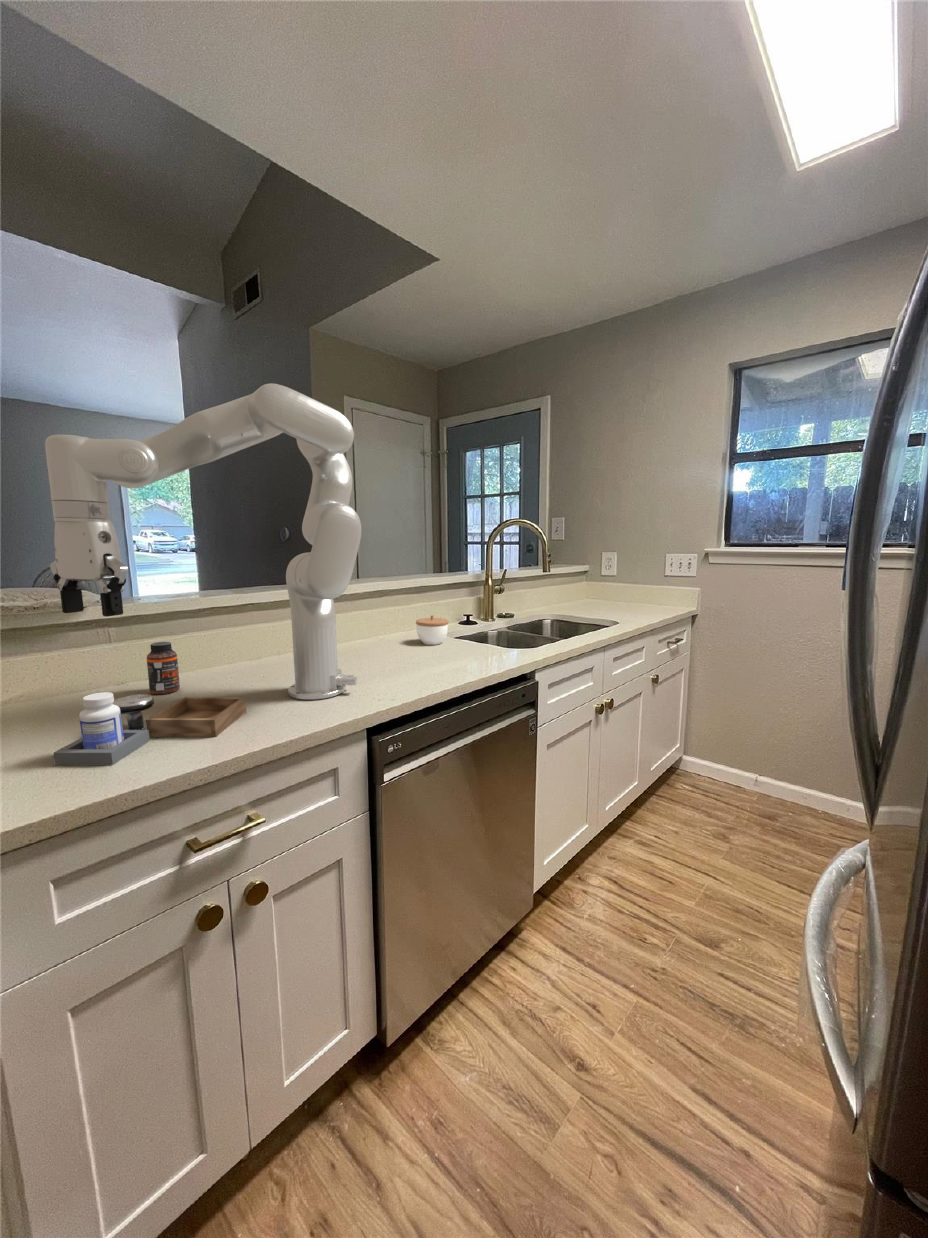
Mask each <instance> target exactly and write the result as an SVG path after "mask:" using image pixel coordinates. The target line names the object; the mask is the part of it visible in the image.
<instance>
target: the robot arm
mask: <svg viewBox="0 0 928 1238" xmlns="http://www.w3.org/2000/svg"><path fill="white" fill-rule="evenodd" d="M281 434H286V435H288V436H290V437H293V438H295V439H296V444H297V447H298V449H299V451H300V453H301V454H302V456H303V457H304V458H305V459H306V461H307V463H309V466H310V470H311V472H312V482H311V487H310V491H309V492H310V493H309V497H308V501H307V505H306V509H305V513H304V516H303V521H302V524H301V531H302V532H301V533H302V536H303V538H304V539H305V540H306V542H308V544H310V545H311V546H312V547H311V551H310V552H303V553H300V554H297V555H295V557H293V558H292V559H291V560H290V561H289V563H288V565H287V568H286V571H285V572H286V573H285V582H286V588H287V595H288V598H289V599H288V600H289V605H290V616H291V617H290V619H291V637H292V651H293V652H292V653H293V669H294V670H293V671H294V684H291V685H290V686H289V687H288V688H287V693H288V695H289V696H290V697H291V698H293V699H298V700H307V701H308V700H309V701H310V700H313V701H314V700H321V699H322V700H323V699H328V698H332V697H336V696H338V695H340V694H343V693H344V692H345V691H346V686H357V683H358V678H357V676H354V674H346V675H345V674H344V673H342V668H339V665H338V662H339V661H338V643H337V639H338V638H337V615H336V606H335V602H334V599H337V598H338V597H340V596H342V595H343V594H344V592H346V590H347V589H348V587H349V585H350V582H351V579H352V575H353V571H354V568H355V564H356V560H357V556H358V552H359V547H360V544H361V539H362V522H361V519H360V517H359V515H358V513H357V511H355V509H354V508H353V507H351V505H350V501H351V496H352V490H353V474H352V469H351V467H350V464H349V462H348V460H347V458H346V456H345V455H344V454H345V453H347V452H348V451H349V449H350V448H351V447H352V446H353V443H354V441H355V440H354V439H355V432H354V428H353V425H352V423H351V422H350V421H349V418H347V417H346V416H345V415H344V414H342V412H340V411H339V410H336V409H335V408H333V407H331V406H329V405H327V404H325V403H322V402H320V401H318V400H316V399H314V398H312V397H309V396H308V395H305V394H303V393H301V392H299V391H297V390H294V389H293V388H290V387H288V386H284V385H281V384H278V383H272V382H271V383H265V384H263V385H261V386H259V387H258V388H257V390H255V391H254V392H253V393H250V394H248V395H244V396H242V397H239V398H237V399H233V400H231V401H228V402H226V403H225V402H224V403H222V404H219V405H216V406H213V407H209V408H206V409H203V410H201V411H200V410H199V411H197V412H195V413H192V414H191V415H189V416H188V417H186V418H185V417H184V418H183V419H182V420H181V421H180V422H178V423H177V424H176V425H174V426H171V427H170V428H169V429H166V430H164V431H162V432H160V433H157V434H155V435H153V436H149V437H147V438H145V439H144V438H143V439H141V440H135V439H130V438H129V439H128V438H111V439H110V438H90V437H87V436H80V435H76V434H75V435H74V434H61V433H60V434H53V435H49V436H48V437H47V438H45V441H44V444H45V446H44V449H45V455H46V458H45V459H46V464H47V465H46V466H47V473H48V481H49V489H50V500H51V505H52V506H51V507H52V514H53V522H54V555H55V556H54V557H55V558H54V559H55V560H54V561H52V562H51V563H50V564H49V568H50V570H51V573H52V574H53V579H54V581H55V582H56V583H57V584H56V588H57V590H58V591H59V595H60V603H61V609H62V610H61V611H62V613H63V614H72V613H79V612H80V613H81V612H84V610H85V608H84V601H83V600H84V599H83V591H82V588H79V587H80V585H81V583H82V582H96V583H97V584H98V587H99V588H100V589H101V590H102V592H100V604H101V612H102V613H101V614H102V616H103V617H104V618H105V617H107V618H108V617H113V616H114V617H115V616H122V615H123V614H124V606H123V597H122V596H123V595H122V592H124V590H125V588H124V586H125V584H126V583H127V576H128V572H129V567H128V566H127V565H126V564H124V563H123V560H122V556H121V549H120V544H119V539H118V535H117V532H116V528H115V526H114V524H113V523H114V522H111V520H110V519H111V518H110V517H111V516H110V509H109V508H110V507H109V500H108V499H109V498H108V488H107V481H109V482H114V483H115V484H117V485H118V486H120V487H122V488H126V489H139V488H143V487H145V486H146V487H147V486H148V485H151V484H153V483H156V482H159V481H161V480H164V479H167V478H169V477H172V476H174V475H176V474H179V473H181V472H184V471H187V470H190V469H192V468H195V467H198V466H202V465H205V464H208V463H209V464H210V463H212V462H214V461H216V460H219V459H221V458H224V457H227V456H229V455H233V454H234V453H236V452H239V451H241V450H244V449H248V448H250V447H252V446H255V445H258V444H260V443H263V442H265V441H267V440H270V439H272V438H275V437H277V436H279V435H281Z"/></svg>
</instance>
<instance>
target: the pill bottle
mask: <svg viewBox="0 0 928 1238" xmlns="http://www.w3.org/2000/svg"><path fill="white" fill-rule="evenodd" d="M114 701H115V697H114V694H113V693H112V692H108V691H106V692H105V691H104V692H102V691H101V692H96V693H92V694H88V695H85V696H83V697H82V706H83V708H85V709H83V710H81V711H80V713H79V716H78V718H79V724H80V725H79V726H80V732H81V738H82V741H83V749H111V748H112V747H114V746H116V745H117V744H119V743H121V742H122V741H124V736H123V730H124V729H123V721H122V714H121V712H120V708H119V707H118V706H117V705H113V702H114Z"/></svg>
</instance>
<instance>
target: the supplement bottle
mask: <svg viewBox="0 0 928 1238" xmlns="http://www.w3.org/2000/svg"><path fill="white" fill-rule="evenodd" d="M146 666H147V667H146V668H147V675H148V676H147V677H148V686H149V693H151V694H153V695H167V694H172V693H175V692H177V691H179V690H180V688H181V687H180V686H181V685H180V676H179V675H180V674H179V662H178V654H177V652H176V651H175V650H173V647H172V642H170V641H158V642H157V641H156V642H153V643H150V652H149V653H148V654H146Z"/></svg>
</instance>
